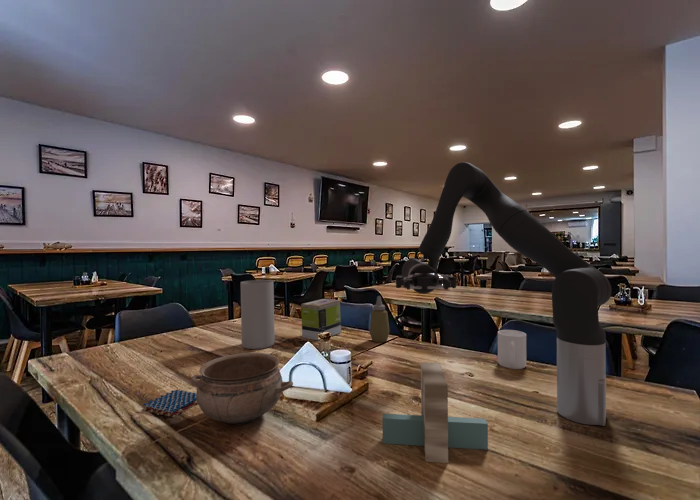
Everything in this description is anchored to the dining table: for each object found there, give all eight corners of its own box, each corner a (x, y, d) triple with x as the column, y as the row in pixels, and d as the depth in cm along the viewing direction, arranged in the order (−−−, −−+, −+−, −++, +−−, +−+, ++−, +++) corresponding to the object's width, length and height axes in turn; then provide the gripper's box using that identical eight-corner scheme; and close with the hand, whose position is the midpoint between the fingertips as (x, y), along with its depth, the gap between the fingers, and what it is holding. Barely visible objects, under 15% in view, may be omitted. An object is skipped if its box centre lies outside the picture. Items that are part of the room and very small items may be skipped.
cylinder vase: (270, 349, 133) (269, 283, 132) (237, 350, 133) (235, 283, 132) (277, 340, 145) (276, 279, 145) (247, 340, 145) (246, 280, 145)
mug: (527, 375, 104) (527, 340, 104) (497, 371, 108) (496, 337, 107) (525, 362, 115) (525, 331, 115) (498, 359, 118) (498, 328, 118)
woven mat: (173, 420, 81) (173, 411, 81) (140, 412, 85) (140, 404, 85) (207, 401, 91) (207, 393, 91) (176, 395, 95) (176, 387, 95)
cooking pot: (165, 434, 75) (163, 377, 74) (215, 396, 93) (214, 349, 93) (276, 445, 70) (275, 384, 69) (306, 402, 88) (305, 354, 88)
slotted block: (421, 427, 76) (420, 362, 76) (440, 428, 75) (439, 363, 75) (425, 461, 64) (424, 384, 64) (448, 463, 64) (447, 385, 63)
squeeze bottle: (366, 342, 140) (366, 297, 140) (373, 337, 148) (372, 294, 147) (386, 344, 137) (385, 298, 137) (392, 339, 145) (391, 295, 144)
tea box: (324, 330, 161) (323, 298, 161) (341, 333, 155) (341, 299, 155) (301, 337, 149) (300, 302, 149) (319, 341, 143) (318, 305, 143)
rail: (485, 443, 69) (485, 418, 69) (487, 449, 67) (487, 423, 67) (383, 437, 72) (382, 413, 72) (382, 443, 70) (382, 418, 70)
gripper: (395, 264, 97) (395, 268, 81) (449, 263, 95) (459, 268, 79) (396, 291, 97) (396, 301, 81) (449, 291, 95) (460, 301, 79)
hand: (427, 285), depth 80 cm, fingers open, 8 cm apart
